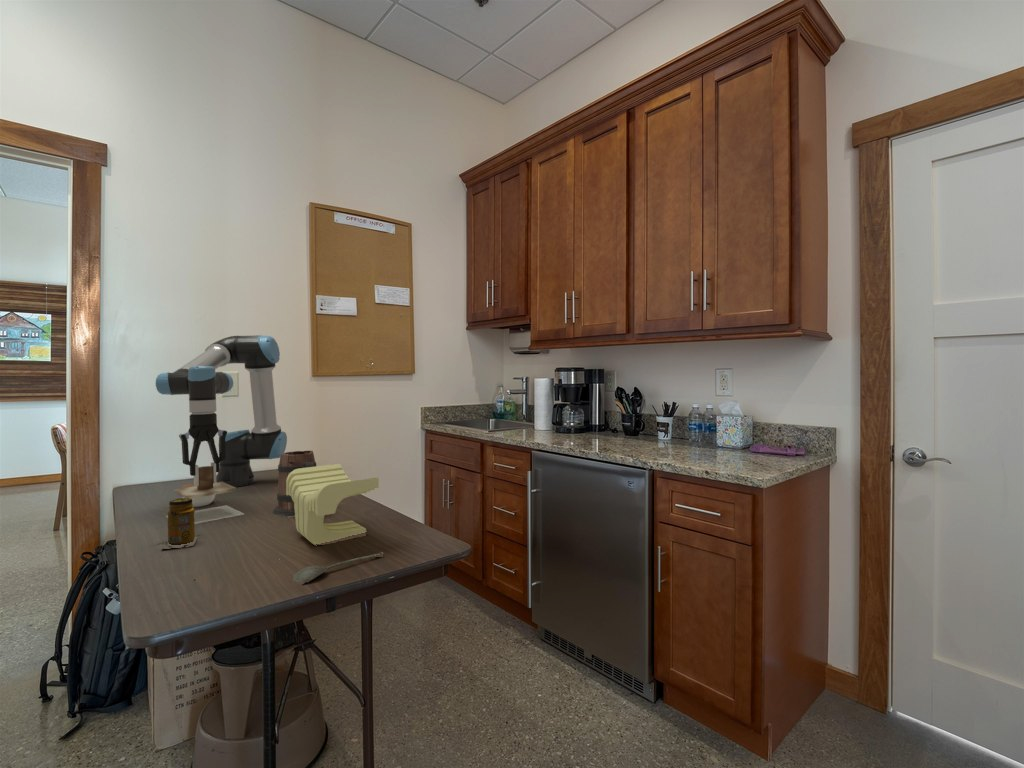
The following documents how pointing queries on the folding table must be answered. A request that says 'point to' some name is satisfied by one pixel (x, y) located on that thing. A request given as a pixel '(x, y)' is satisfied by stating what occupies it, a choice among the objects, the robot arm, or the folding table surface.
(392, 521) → the folding table surface
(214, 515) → the mat
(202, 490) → the lid
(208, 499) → the lidded jar
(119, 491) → the folding table surface
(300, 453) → the tankard
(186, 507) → the condiment
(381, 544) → the folding table surface
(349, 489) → the slatted curved stool
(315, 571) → the soupspoon
